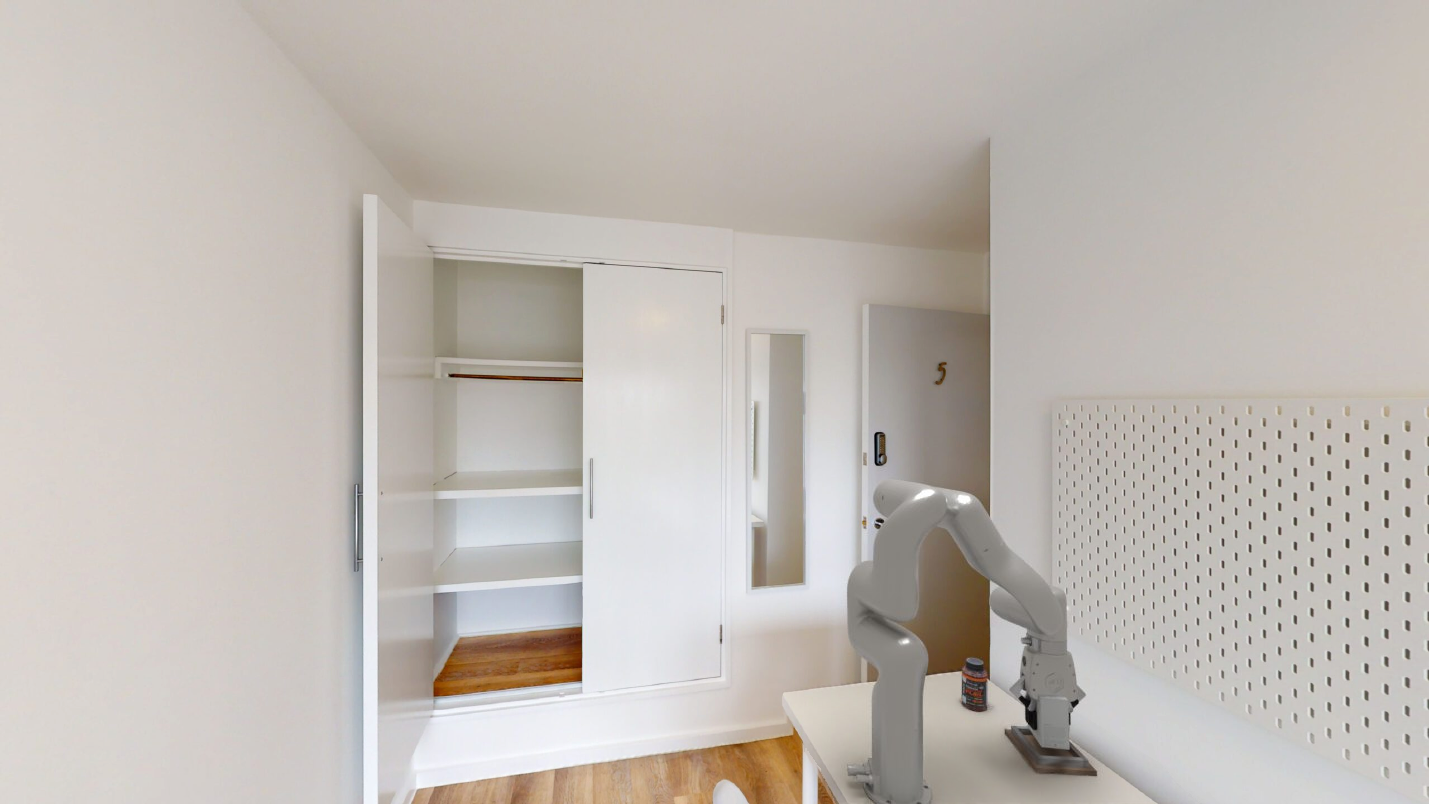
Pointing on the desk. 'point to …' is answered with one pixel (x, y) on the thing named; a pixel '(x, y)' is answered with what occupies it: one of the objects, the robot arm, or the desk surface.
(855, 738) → the desk surface
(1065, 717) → the small box
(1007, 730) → the brown flat frame
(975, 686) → the supplement bottle
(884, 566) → the robot arm
